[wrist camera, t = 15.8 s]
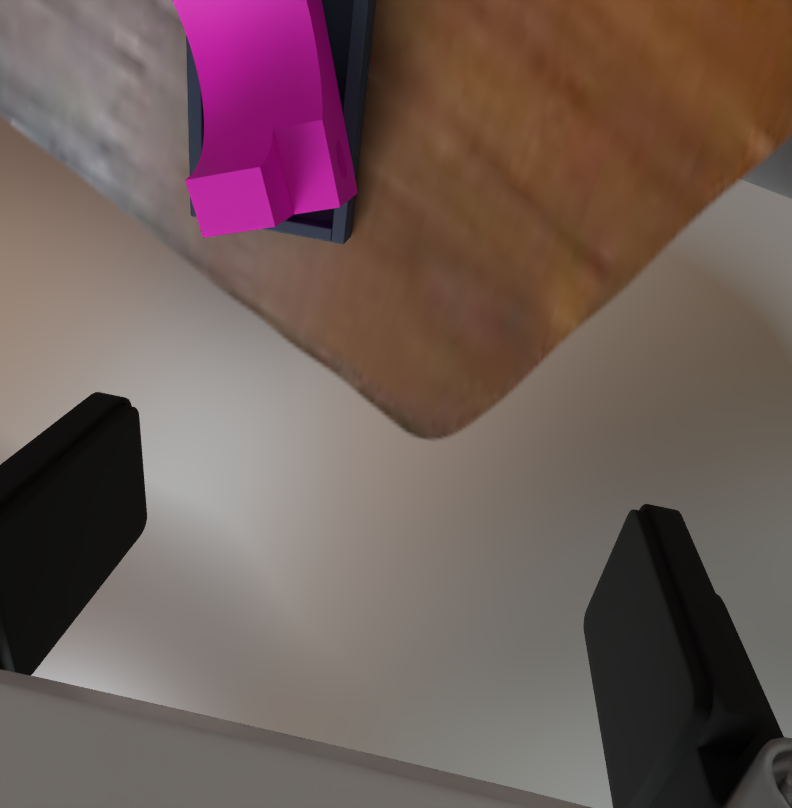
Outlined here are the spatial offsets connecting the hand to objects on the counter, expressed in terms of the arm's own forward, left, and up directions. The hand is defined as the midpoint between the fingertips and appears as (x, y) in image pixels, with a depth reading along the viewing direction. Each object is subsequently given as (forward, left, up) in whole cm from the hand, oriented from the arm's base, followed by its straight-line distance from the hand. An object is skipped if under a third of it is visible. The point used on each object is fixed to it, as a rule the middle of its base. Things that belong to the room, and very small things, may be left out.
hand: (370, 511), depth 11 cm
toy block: (+11, -7, -26) cm, 30 cm away
